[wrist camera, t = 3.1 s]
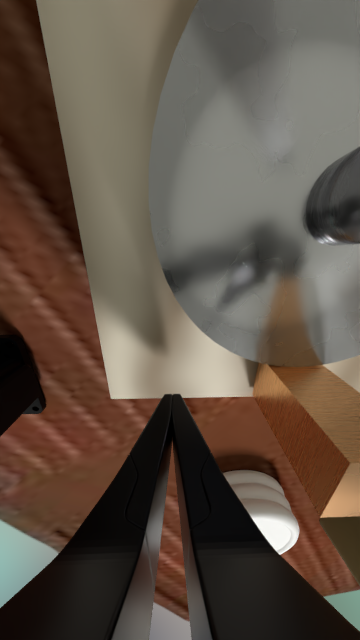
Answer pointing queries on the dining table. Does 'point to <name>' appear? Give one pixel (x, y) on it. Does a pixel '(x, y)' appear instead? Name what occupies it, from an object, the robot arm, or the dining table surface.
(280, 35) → the flange plate
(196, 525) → the robot arm
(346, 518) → the cork
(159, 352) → the birch base board
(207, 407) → the dining table surface
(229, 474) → the coaster
